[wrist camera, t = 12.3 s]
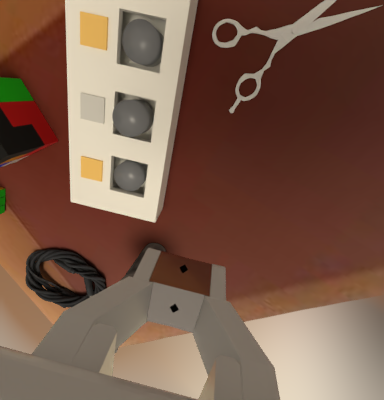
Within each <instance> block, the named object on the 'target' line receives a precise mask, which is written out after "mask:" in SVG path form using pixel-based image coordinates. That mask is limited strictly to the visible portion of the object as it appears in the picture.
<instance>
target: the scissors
mask: <svg viewBox="0 0 384 400" xmlns="http://www.w3.org/2000/svg"><path fill="white" fill-rule="evenodd" d="M335 1H336V0H324V1H323V2H322V3H320V4H319V5H318V6H316V7H315V8H314V9H312V10H311V11H310V12H308V13H307V14H306V15H304V16H303V17H302V18H300V19H299V20H298V21H296V22H295V23H294V24H291V25H287V26H284V27H281V28H278V29H273V30H268V31H263V30H260V29H259V28H258V27H255V28H252V29H250V30H246V29H245V28H244V27H242V26H241V25H240V24H239V23H238V22H237V21H235V20H232V19H223V20H222V21H220V22H218V23H217V24H216V25H215V27H214V29H213V32H212V38H213V41H214V43H215V44H216V45H218V46H219V47H222V48H230V47H234V46H235V45H236V43H237V42H238V40H239V39H240V37H241V36H245V35H247V34H250V33H255V34H260V35H264V36H267V37H269V38H271V39H275V40H278V41H277V43H276V45H275V47H274V49H273V51H272V53H271V55H270V57H269V60H268V61H267V63H266V65H265V66H264V67H263V68H262V69H261V70H260V71H258V72H256V73H255V74H246V73H245V74H244V75H243V76H242V77H241V78H240V79H239V81H238V83H237V86H236V89H235V90H236V95H237V100H236V102H235V103H234V105H233V106H232V107H231V108H230V110H229V111H230V113H233V112H234V110H235V108H236V106H237V105H238V104H239V102H240V101H241V100H242V101H247V100H251V99H252V98H253V97H255V96H256V95H257V94H258V92H259V89H260V86H261V77H262V74H263V72H264V70H266V69H268V68H269V67H270V65H271V60H272V58H273V56H274V54H275V53H276V52H277V51H279V50H280V49H281V48H283V47H284V46H285V45H286V44H287V43H289V42H290V41H291V40H292V39H294V38H295V37H296V36H299V35H302V34H305V33H308V32H311V31H314V30H318V29H321V28H324V27H327V26H329V25H332V24H335V23H338V22H340V21H343V20H345V19H348V18H351V17H354V16H356V15H359V14H362V13H365V12H367V11H370V10H372V9H375V8H377V7H380V6H376V7H371V8H366V9H362V10H357V11H352V12H347V13H343V14H339V15H335V16H329V17H324V18H319V19H317V20H315V19H316V18H317V17H319V16H320V15H321V14H322V13H323V12H324V11H325V10H326V9H327V8H328V7H330V6H331V5H332V4H333V3H334V2H335ZM381 6H382V5H381ZM314 20H315V21H314ZM226 22H227V23H230V24H233V25H235V26H236V29H237V31H238V32H237V36H236V37H235V38H234V40H232V41H229V42H226V43H223V42H219V41H218V40H217V37H216V31H217V29H218V27H219V26H220V25H222V24H224V23H226ZM248 78H253V79H255V80H256V83H257V87H256V90H255V91H254V93H253V94H251V95H250V96H247V97H243V96H241V95H240V93H239V86H240V84H241V83H242V82H243V81H244V80H246V79H248Z"/></svg>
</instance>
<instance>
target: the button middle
mask: <svg viewBox="0 0 384 400" xmlns="http://www.w3.org/2000/svg"><path fill="white" fill-rule="evenodd" d="M112 118H113V123H114V125H115V127H116V129H117V130H118V131H119V132H120V133H121V134H123V135H125V136H128V137H135V136H138V135H140V134H142V133H144V132H146V131H148V130H149V129H150V128H151V127H152V125H153V121H154V114H153V111H152V109H151V107H150V106H149V104H147V103H146V102H145V101H143V100H139V99H133V100H123V101H121V102H119V103H118V104H117V105H116V106H115V108H114V110H113V114H112Z"/></svg>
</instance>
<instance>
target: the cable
mask: <svg viewBox="0 0 384 400" xmlns="http://www.w3.org/2000/svg"><path fill="white" fill-rule="evenodd" d="M52 259H53V260H54V261H55V263H57V264H58V265H59V266H61V267H62V268H64V269H65V270H67V271H68V272H70V273H73V274H74V273H77V274H79V275H81V276H82V277H84V282H85V285H86V290H87V295H86V296H78V295H77V294H75V293H74V292H72V291H70V290H69V289H67V288H65V289H64V288H61V287H59V286H57V285H56V284H54V283H52V282H50V281H48V280H45V279H43V278H42V275H41V273H40V268H39V267H40V263H42V262H44V261H48V260H52ZM37 260H38V261H37ZM36 261H37V262H36ZM35 262H36V263H35ZM26 265H27V266H26V284H27V286H28V287H29V288H30V289H31V290H33V291H35V292H36V294H37V295H38V296H39V297H40V298H41V299H43V300H46V301H49V302H53V303H55V304H58V305H60V306H62V307H63V308H66V307H73V306H75V305H77V304H79V303H81V302H82V301H84V300H86V299H88V298H90V297H92V296H93V295H95V294H97V293H99V292H101V291H103V290H104V289H105V287H106V286H105V279H104V278H103V277H100V275H99V274H98V272H97V270H96V269H95V268H93V267H91V266H89V265H88V264H87V263H86V262H85V261H84V259H83V258H82V257H81V256H79V255H78V254H76V253H73V252H69V251H64V250H53V249H50V250H39V251H36V252H33V253H32V254H31V255H30V256H29V257H28V259H27V262H26ZM92 281H93V282H94V283H95V289H94V290H93V285H92ZM48 283H49V284H51V285H53V286H55V287H52V286H50V285H49V284H48ZM42 285H43V286H44V287H45V288H46V289H47V290H46V289H44V288H43V287H42Z"/></svg>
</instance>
